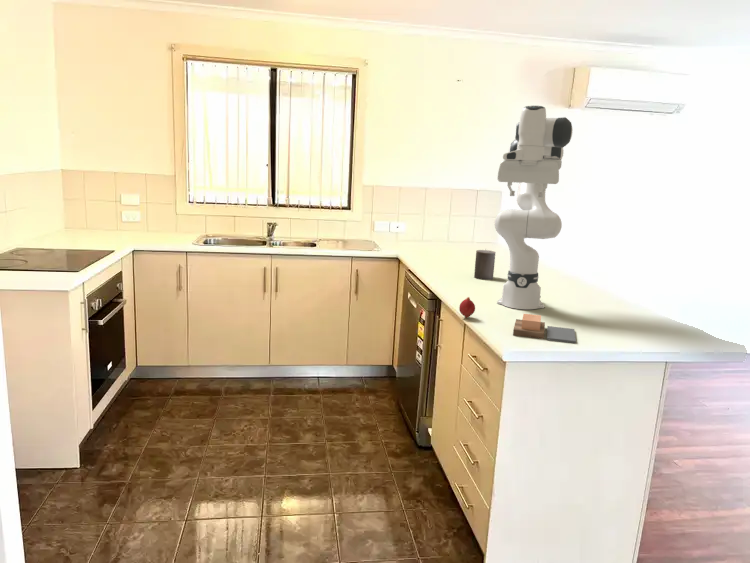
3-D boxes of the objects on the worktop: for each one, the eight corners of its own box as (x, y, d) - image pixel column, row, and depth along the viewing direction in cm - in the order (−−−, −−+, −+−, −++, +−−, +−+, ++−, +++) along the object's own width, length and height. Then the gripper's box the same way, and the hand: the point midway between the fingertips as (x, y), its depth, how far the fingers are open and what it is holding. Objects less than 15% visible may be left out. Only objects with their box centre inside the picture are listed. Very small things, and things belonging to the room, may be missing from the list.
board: (515, 324, 203) (516, 319, 202) (544, 327, 200) (544, 322, 199) (512, 335, 190) (513, 329, 189) (543, 338, 187) (544, 333, 186)
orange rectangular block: (522, 321, 199) (523, 313, 199) (540, 323, 198) (541, 315, 197) (521, 328, 191) (522, 320, 190) (539, 330, 189) (540, 321, 188)
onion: (456, 317, 209) (457, 297, 207) (462, 314, 214) (464, 294, 212) (470, 320, 206) (472, 299, 204) (476, 317, 211) (478, 296, 209)
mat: (547, 328, 200) (547, 325, 199) (574, 331, 197) (574, 328, 197) (546, 340, 186) (547, 337, 185) (575, 343, 183) (575, 341, 183)
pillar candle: (472, 278, 283) (475, 249, 280) (475, 275, 292) (477, 246, 289) (492, 280, 281) (495, 251, 277) (494, 277, 290) (496, 248, 286)
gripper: (562, 156, 189) (558, 197, 192) (500, 154, 195) (497, 194, 198) (562, 155, 183) (558, 198, 186) (498, 154, 189) (495, 195, 192)
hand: (526, 196), depth 192 cm, fingers open, 8 cm apart
